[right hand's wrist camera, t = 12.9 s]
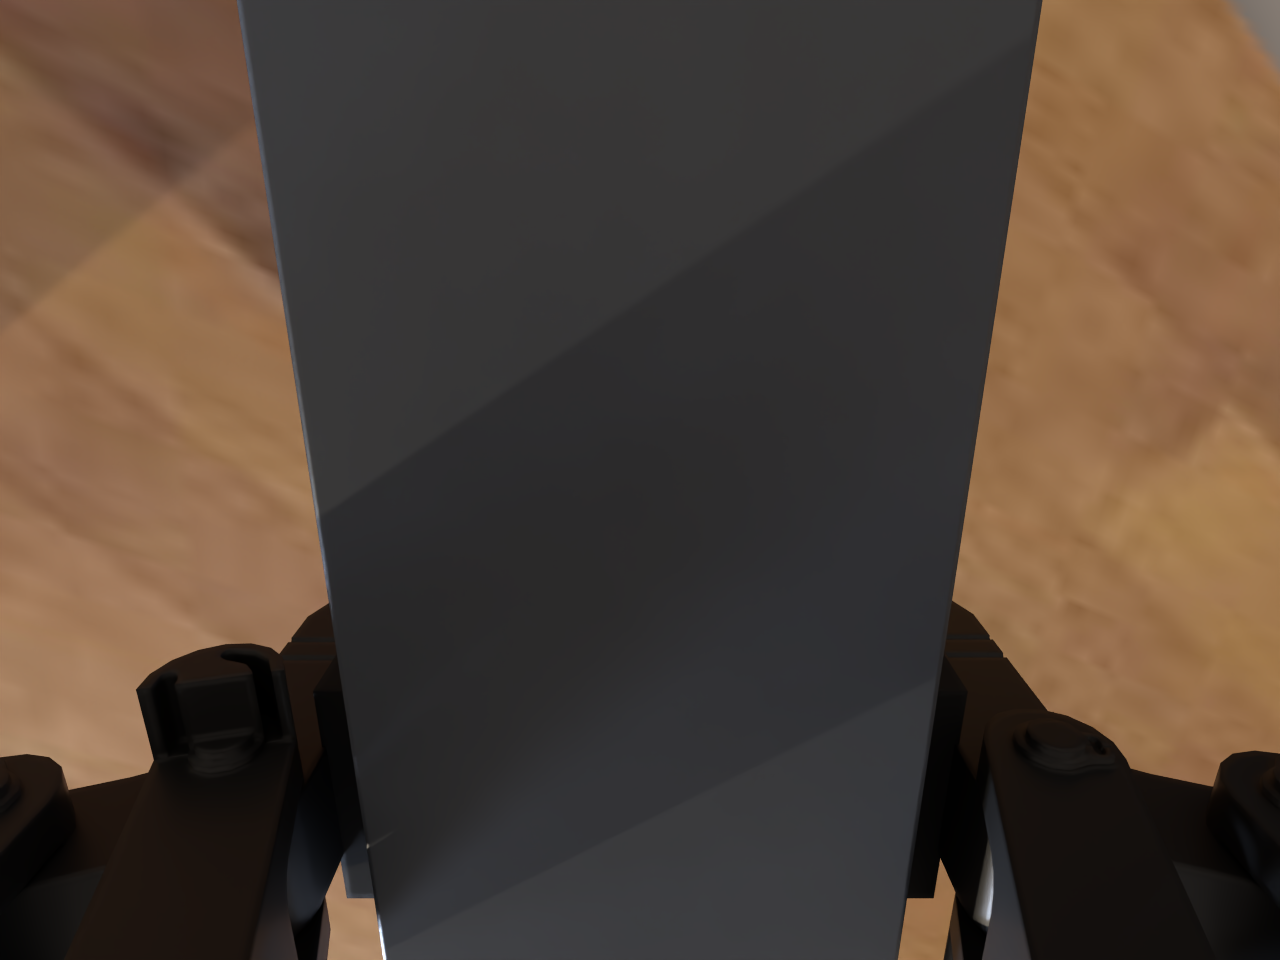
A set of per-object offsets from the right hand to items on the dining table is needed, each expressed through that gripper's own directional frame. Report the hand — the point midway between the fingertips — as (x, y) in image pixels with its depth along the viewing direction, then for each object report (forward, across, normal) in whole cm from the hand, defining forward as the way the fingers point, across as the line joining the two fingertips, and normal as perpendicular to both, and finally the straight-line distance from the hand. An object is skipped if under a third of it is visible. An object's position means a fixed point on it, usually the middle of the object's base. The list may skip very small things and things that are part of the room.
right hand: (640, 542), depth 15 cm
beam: (+1, 0, -20) cm, 20 cm away
